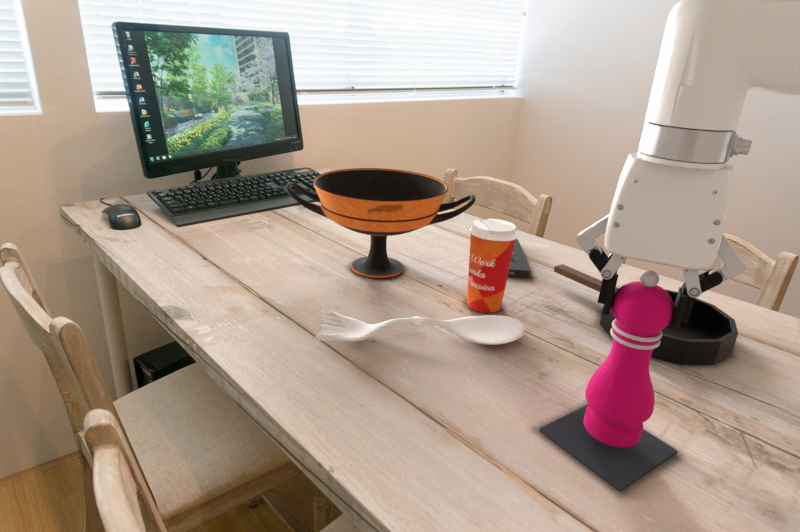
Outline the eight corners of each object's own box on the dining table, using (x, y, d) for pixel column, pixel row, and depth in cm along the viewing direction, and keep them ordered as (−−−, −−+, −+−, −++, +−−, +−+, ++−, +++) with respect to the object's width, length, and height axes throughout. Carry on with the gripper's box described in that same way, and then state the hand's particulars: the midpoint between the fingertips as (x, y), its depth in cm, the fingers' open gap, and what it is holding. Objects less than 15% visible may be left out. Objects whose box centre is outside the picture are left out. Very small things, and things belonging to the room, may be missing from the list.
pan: (751, 344, 86) (759, 322, 85) (688, 378, 76) (696, 354, 74) (586, 273, 111) (590, 256, 109) (520, 292, 100) (524, 272, 99)
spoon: (317, 324, 84) (317, 304, 83) (512, 324, 88) (514, 305, 87) (315, 354, 76) (315, 333, 74) (530, 353, 80) (533, 332, 78)
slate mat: (677, 453, 61) (678, 450, 61) (619, 491, 55) (620, 488, 55) (596, 402, 69) (597, 399, 69) (539, 430, 63) (539, 428, 63)
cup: (271, 287, 96) (268, 192, 89) (303, 240, 119) (302, 162, 113) (470, 302, 95) (482, 207, 88) (462, 252, 118) (471, 174, 112)
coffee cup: (452, 298, 96) (460, 219, 90) (489, 292, 99) (499, 215, 94) (478, 319, 89) (489, 235, 83) (517, 311, 92) (530, 230, 87)
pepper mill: (580, 443, 59) (618, 279, 51) (576, 405, 65) (609, 254, 58) (650, 457, 57) (699, 290, 50) (638, 416, 64) (681, 263, 56)
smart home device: (490, 267, 106) (483, 235, 125) (489, 275, 107) (482, 242, 126) (532, 270, 106) (518, 238, 125) (531, 278, 107) (517, 244, 125)
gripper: (785, 152, 49) (729, 324, 56) (591, 131, 55) (562, 287, 62) (802, 165, 43) (736, 357, 49) (581, 139, 49) (550, 312, 56)
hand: (639, 316), depth 56 cm, fingers closed on pepper mill, 6 cm apart
